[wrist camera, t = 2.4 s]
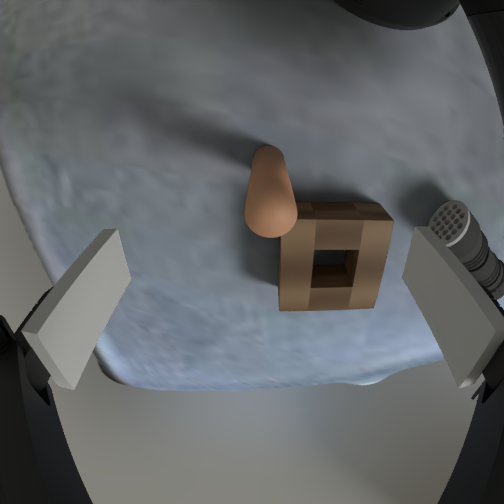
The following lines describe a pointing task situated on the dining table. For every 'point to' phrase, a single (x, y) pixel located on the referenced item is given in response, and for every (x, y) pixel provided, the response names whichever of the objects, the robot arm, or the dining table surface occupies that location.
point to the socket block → (333, 238)
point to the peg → (270, 195)
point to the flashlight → (468, 244)
